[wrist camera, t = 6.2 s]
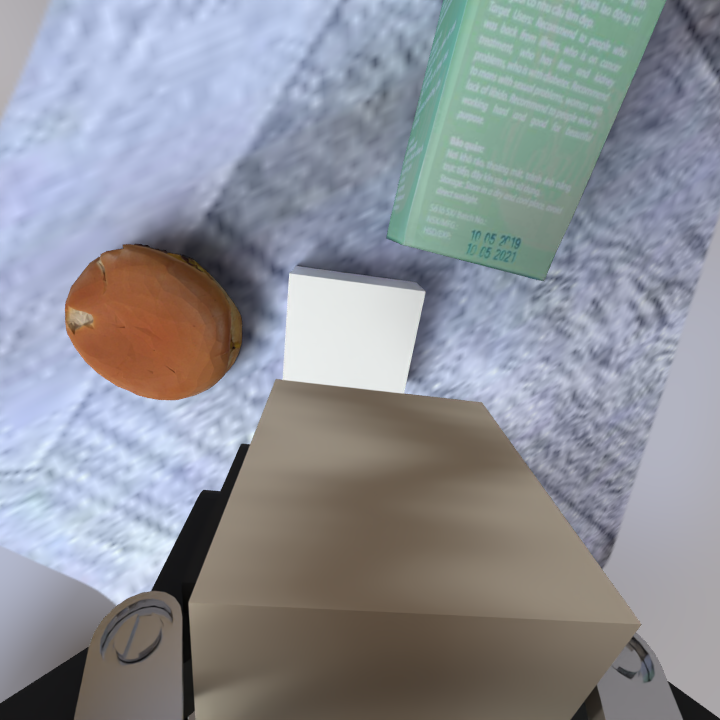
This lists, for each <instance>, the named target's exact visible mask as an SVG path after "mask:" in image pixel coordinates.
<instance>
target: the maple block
mask: <svg viewBox="0 0 720 720" xmlns="http://www.w3.org/2000/svg"><path fill="white" fill-rule="evenodd" d="M188 603H189V620H190V637H191V653H192V670H193V687H194V703H195V719H196V720H571V718H572V717H573V716H574V714H575V713H576V712H577V710H578V709H579V708H580V706H581V705H582V704H583V702H584V701H585V700H586V698H587V697H588V696H589V694H590V693H591V692H592V690H593V689H594V687H595V686H596V685H597V683H598V682H599V681H600V679H601V678H602V677H603V675H604V674H605V673H606V671H607V670H608V669H609V667H610V666H611V665H612V663H613V662H614V661H615V659H616V658H617V657H618V655H619V654H620V653H621V651H622V650H623V649H624V647H625V646H626V645H627V643H628V642H629V641H630V639H631V638H632V637H633V635H634V634H635V633H636V631H637V630H638V629H639V627H640V626H641V623H640V621H639V620H638V619H637V617H636V616H635V615H634V613H633V612H632V610H631V609H630V607H629V606H628V605H627V603H626V602H625V601H624V599H623V598H622V596H621V595H620V594H619V592H618V591H617V590H616V588H615V587H614V585H613V584H612V583H611V581H610V580H609V578H608V577H607V576H606V574H605V573H604V571H603V570H602V569H601V567H600V566H599V564H598V563H597V562H596V560H595V559H594V557H593V556H592V555H591V553H590V552H589V551H588V549H587V548H586V546H585V545H584V544H583V542H582V541H581V539H580V538H579V537H578V535H577V534H576V532H575V531H574V530H573V528H572V527H571V526H570V524H569V523H568V521H567V520H566V519H565V517H564V516H563V514H562V513H561V512H560V510H559V509H558V507H557V506H556V505H555V503H554V502H553V501H552V499H551V498H550V496H549V495H548V494H547V492H546V491H545V489H544V488H543V487H542V485H541V484H540V482H539V481H538V480H537V478H536V477H535V476H534V474H533V473H532V471H531V470H530V469H529V467H528V466H527V464H526V463H525V462H524V460H523V459H522V457H521V456H520V455H519V453H518V452H517V451H516V449H515V448H514V446H513V445H512V444H511V442H510V441H509V439H508V438H507V437H506V435H505V434H504V432H503V431H502V430H501V428H500V427H499V425H498V424H497V423H496V421H495V420H494V419H493V417H492V416H491V414H490V413H489V412H488V410H487V409H486V407H485V406H484V405H483V403H482V402H473V401H465V400H456V399H447V398H438V397H429V396H421V395H412V394H403V393H394V392H385V391H376V390H368V389H359V388H350V387H341V386H332V385H324V384H315V383H306V382H297V381H288V380H280V379H276V380H275V382H274V385H273V388H272V390H271V393H270V395H269V398H268V400H267V403H266V405H265V408H264V411H263V413H262V416H261V418H260V421H259V423H258V426H257V429H256V431H255V434H254V436H253V439H252V441H251V444H250V446H249V449H248V452H247V454H246V457H245V459H244V462H243V464H242V467H241V469H240V472H239V475H238V477H237V480H236V482H235V485H234V487H233V490H232V492H231V495H230V498H229V500H228V503H227V505H226V508H225V510H224V513H223V515H222V518H221V521H220V523H219V526H218V528H217V531H216V533H215V536H214V538H213V541H212V544H211V546H210V549H209V551H208V554H207V556H206V559H205V561H204V564H203V567H202V569H201V572H200V574H199V577H198V579H197V582H196V584H195V587H194V590H193V592H192V595H191V597H190V600H189V602H188Z"/></svg>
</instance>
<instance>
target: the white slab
mask: <svg viewBox="0 0 720 720" xmlns="http://www.w3.org/2000/svg"><path fill="white" fill-rule="evenodd" d="M425 292H426V291H425V290H423V289H422V288H421V287H420V286H419V285H418V284H417V283H416V282H411V281H404V280H396V279H389V278H382V277H374V276H367V275H360V274H352V273H345V272H337V271H330V270H323V269H315V268H308V267H301V266H295V267H294V269H293V270H292V271H291V272H290V273H289V287H288V303H287V319H286V335H285V351H284V368H283V380H288V381H297V382H306V383H315V384H324V385H332V386H341V387H350V388H359V389H368V390H376V391H385V392H394V393H403V394H404V391H405V386H406V381H407V377H408V372H409V367H410V363H411V358H412V353H413V349H414V344H415V339H416V335H417V330H418V325H419V321H420V316H421V311H422V306H423V302H424V297H425Z"/></svg>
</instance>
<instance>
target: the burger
mask: <svg viewBox="0 0 720 720" xmlns="http://www.w3.org/2000/svg"><path fill="white" fill-rule="evenodd" d="M65 323H66V331H67V333H68V336H69V338H70V339H71V341H72V343H73V345H74V347H75V348H76V350H77V351H78V352H79V354H80V355H81V356H82V358H83V359H84V360H85V362H86V363H87V364H89V365H90V366H91V367H92V368H93V369H94V370H95V371H96V372H97V373H98V374H100V375H101V376H103V377H104V378H105V379H107V380H109V381H110V382H112V383H113V384H115V385H116V386H118V387H121V388H123V389H126V390H128V391H131V392H133V393H134V394H136V395H139V396H143V397H147V398H152V399H157V400H179V399H183V398H187V397H191V396H194V395H197V394H199V393H201V392H203V391H205V390H208V389H209V388H211V387H212V386H214V385H215V384H216V383H217V382H218V381H219V380H220V379H221V378H222V377H223V376H224V375H225V373H226V372H227V371H228V370H229V369H230V368H231V366H232V365H233V364H234V362H235V360H236V358H237V356H238V354H239V351H240V347H241V343H242V319H241V315H240V313H239V311H238V309H237V307H236V306H235V304H234V303H233V301H232V300H231V298H230V297H229V296H228V294H227V293H226V292H225V290H224V289H223V288H222V287H221V286H220V284H219V283H218V282H217V281H216V280H215V279H214V278H213V277H212V276H211V275H210V274H209V273H208V272H207V271H206V270H205V269H203V268H202V267H201V266H200V265H199V264H198V263H197V262H196V261H195V260H193V259H192V258H189V257H186V256H183V255H181V254H180V255H179V254H173V253H169V252H167V251H166V250H159V249H154V248H151V247H149V246H148V245H142V244H134V245H131V244H126V245H123V249H117V250H111V251H106V252H104V253H102V254H101V256H100V257H98V258H97V259H95V260H94V261H92V262H91V263H89V265H88V266H87V267H86V268H85V270H84V271H83V272H82V274H81V275H80V276H79V278H78V279H77V280H76V281H75V283H74V284H73V285H72V287H71V289H70V292H69V295H68V298H67V300H66V304H65Z"/></svg>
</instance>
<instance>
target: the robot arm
mask: <svg viewBox="0 0 720 720" xmlns="http://www.w3.org/2000/svg"><path fill="white" fill-rule="evenodd" d="M249 446H250V444H241V445H240V447H239V450H238V452H237V454H236V457H235V459H234V461H233V464H232V466H231V468H230V470H229V473H228V475H227V477H226V480H225V482H224V484H223V487H222V489H221V491H211V490H203V491H202V492H201V493H200V495H199V497H198V498H197V500H196V502H195V504H194V506H193V508H192V510H191V512H190V514H189V516H188V518H187V520H186V522H185V524H184V526H183V528H182V530H181V532H180V534H179V536H178V538H177V540H176V542H175V544H174V546H173V548H172V550H171V552H170V554H169V556H168V558H167V560H166V562H165V564H164V566H163V568H162V570H161V572H160V574H159V576H158V578H157V580H156V582H155V584H154V586H153V588H152V590H151V591H150V592H143V593H140V594H137V595H135V596H132V597H130V598H128V599H126V600H125V601H123V602H122V603H120V604H119V605H117V606H116V607H115V608H113V609H112V610H111V611H110V613H108V614H107V616H105V617H104V618H103V620H102V621H101V623H100V624H99V625H98V627H97V628H96V630H95V631H94V634H93V637H92V639H91V642H90V645H89V647H87V648H86V649H84V650H83V651H81V652H80V653H78V654H77V655H75V656H73V657H72V658H70V659H69V660H67V661H66V662H64V663H63V664H61V665H60V666H58V667H56V668H55V669H53V670H52V671H50V672H49V673H47V674H45V675H44V676H42V677H41V678H39V679H38V680H36V681H34V682H33V683H31V684H30V685H28V686H27V687H25V688H24V689H22V690H20V691H19V692H18V693H16V694H14V695H13V696H11V697H9V698H8V699H6V700H5V701H3V702H2V703H0V720H189V715H190V714H192V713H193V712H194V711H195V703H194V687H193V670H192V653H191V637H190V620H189V603H188V602H189V600H190V597H191V595H192V592H193V590H194V587H195V584H196V582H197V579H198V577H199V574H200V572H201V569H202V567H203V564H204V561H205V559H206V556H207V554H208V551H209V549H210V546H211V544H212V541H213V538H214V536H215V533H216V531H217V528H218V526H219V523H220V521H221V518H222V515H223V513H224V510H225V508H226V505H227V503H228V500H229V498H230V495H231V492H232V490H233V487H234V485H235V482H236V480H237V477H238V475H239V472H240V469H241V467H242V464H243V462H244V459H245V457H246V454H247V452H248V449H249ZM571 720H720V719H719V718H718V717H717V716H715V715H714V714H712V713H711V712H710V711H709V710H707V709H706V708H704V707H703V706H701V705H700V704H699V703H697V702H696V701H694V700H693V699H692V698H690V697H689V696H688V695H686V694H685V693H684V692H682V691H681V690H679V689H678V688H677V687H675V686H674V685H673V684H671V683H670V682H668V681H667V679H666V676H665V674H664V671H663V669H662V666H661V664H660V662H659V661H658V659H657V657H656V655H655V653H654V652H653V651H652V649H651V648H650V647H649V645H648V644H647V643H646V642H645V641H644V640H643V639H642V638H641V637H640V636H639V635H638V634H637V633H635V634H634V635H633V637H632V638H631V639H630V641H629V642H628V643H627V645H626V646H625V647H624V649H623V650H622V651H621V653H620V654H619V655H618V657H617V658H616V659H615V661H614V662H613V663H612V665H611V666H610V667H609V669H608V670H607V671H606V673H605V674H604V675H603V677H602V678H601V679H600V681H599V682H598V683H597V685H596V686H595V687H594V689H593V690H592V692H591V693H590V694H589V696H588V697H587V698H586V700H585V701H584V702H583V704H582V705H581V706H580V708H579V709H578V710H577V712H576V713H575V714H574V716H573V717H572V718H571Z"/></svg>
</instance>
